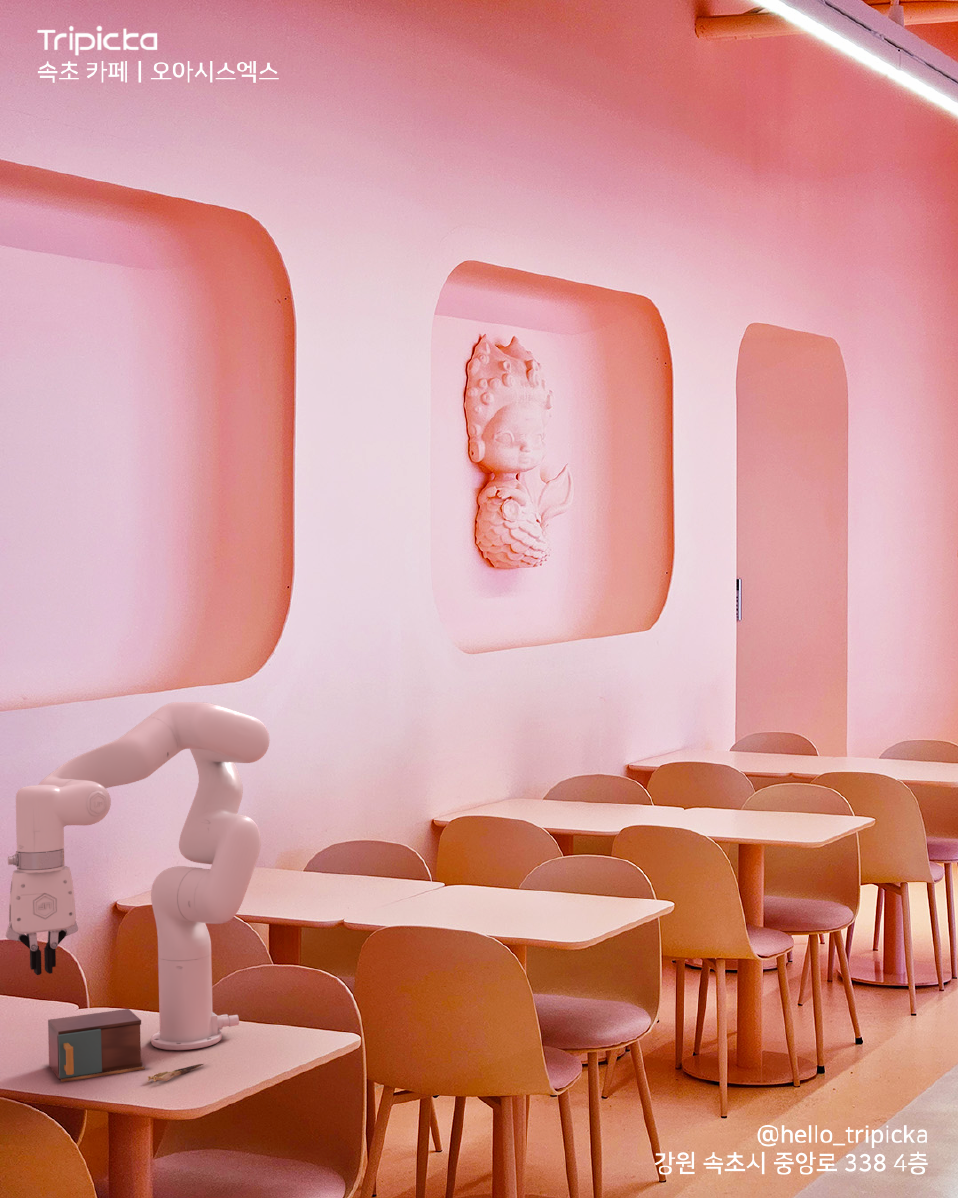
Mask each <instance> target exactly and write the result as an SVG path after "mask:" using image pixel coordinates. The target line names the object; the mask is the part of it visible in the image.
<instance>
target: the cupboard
mask: <svg viewBox="0 0 958 1198" xmlns="http://www.w3.org/2000/svg"><path fill="white" fill-rule="evenodd" d="M141 1025H142V1020H141V1018H139V1016H137V1015H136V1014H135V1013H134V1012H133V1011H132V1010H130V1009H129V1008H124V1009H116V1010H110V1011H109V1010H108V1011H104V1012H102V1011H101V1012H95V1013H86V1014H79V1015H72V1016H66V1017H59V1018H58V1017H57V1018H51V1019H48V1020H47V1029H48V1030H47V1032H48V1033H47V1035H48V1038H47V1039H48V1067H49V1068H50V1069H51V1071H52V1072H53V1073H54V1074H55V1075H56V1077H57V1078H58V1079H59V1080H60V1082H61V1083H64V1082H65V1083H66V1082H71V1081H77V1080H84V1079H90V1078H97V1077H102V1076H109V1075H116V1074H122V1073H129V1072H136V1071H141V1070H145V1068H146V1067H145V1066H143V1062H142V1049H141V1048H142V1047H141V1046H142V1045H141ZM96 1029H101V1053H102V1072H100V1073H93V1074H87V1075H80V1076H74V1077H67V1078H61V1079H60V1078H59V1043H58V1035H60V1034H67V1033H74V1032H82V1031H89V1030H96Z"/></svg>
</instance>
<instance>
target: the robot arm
mask: <svg viewBox="0 0 958 1198" xmlns="http://www.w3.org/2000/svg"><path fill="white" fill-rule="evenodd" d="M270 741H271V740H270V733H269V731H268V728H267V727H266V725H265V723H264V722H262V721H261V720H260V719H259V718H257V717H256V716H253V715H249V714H246V713H243V712H240V711H236V710H234V709H230V708H227V707H225V706H222V705H218V704H214V703H212V702H211V703H210V702H204V701H174V702H169V703H166V704H164V705H162V706H160V707H159V708H157V710H155V711H154V712H152V713H151V714H150V715H148V716H147V717H146V718H144V719H143V720H142V721H140V722H139V723H138V724H136V725H135V726H134V727H132V728H131V729H130V730H128V731H127V732H126V733H124V734H123V735H122V736H120V737H119V738H117V739H115V740H112V741H110V742H107V743H105V744H103V745H100V746H98V747H96V748H94V749H92V750H89V751H86V752H84V753H82V754H80V755H77V756H75V757H74V758H71V759H70V760H68V761H66V762H65V763H63V764H61V765H60V766H58V767H57V768H56V769H55V770H53V771H52V772H51V773H49V774H48V775H47V776H45V777H44V778H43V779H42V780H41V781H40V782H39V783H38V784H34V785H27V786H23V787H20V788H19V789H18V790H17V791H16V794H15V828H16V829H15V830H16V831H15V832H16V851H15V853H14V855H13V854H12V855H11V856H7V865H8V866H11V865H12V866H15V867H16V869H14V870H13V871H12V876H11V880H10V881H11V882H10V891H9V907H8V925H7V929H6V931H5V938H7V939H8V940H9V941H10V940H11V941H15V942H19V943H20V942H21V943H22V944H23V945H25V946H26V947H27V948H28V949H29V967H30V970H32V971H33V973H34V974H35V975H36V976H41V975H42V970H43V969H42V950H40V946H39V945H38V934H37V933H46V932H47V941H46V943H45V946H44V948H43V952H44V954H43V955H44V957H43V959H44V971H45V972H46V973H47V974H49V975H50V974H53V971H54V970H53V968H56V967H57V957H56V954H57V953H56V949H57V948H58V946H59V945H60V943H61V942H62V941H63V940H64V939H65V938H66V937H67V936H70V935H72V934H74V933H77V932H79V926H78V924H77V921H76V918H77V917H76V901H75V891H74V883H73V877H72V872H71V868H70V866H68V865H67V866H66V865H65V829H64V828H65V827H66V826H92V825H95V824H97V823H99V822H100V821H102V820H103V819H104V818H105V817H106V816H107V815H108V814H109V811H110V810H111V806H112V804H111V803H112V801H111V795H110V792H109V790H107V789H108V788H113V787H119V786H123V785H129V784H132V783H136V782H139V781H141V780H145V779H146V778H148V777H150V776H151V775H152V774H153V773H155V772H156V771H158V770H159V769H160V768H161V767H162V766H163V765H165V764H167V762H169V761H170V760H171V759H172V758H174V757H175V756H177V754H179V753H180V752H182V751H184V750H190V753H191V755H192V757H193V760H194V762H195V765H196V769H197V775H198V783H197V788H196V791H195V795H194V798H193V800H192V802H191V806H190V808H189V811H188V814H187V817H186V818H185V821H184V823H183V826H182V829H181V831H180V832H181V833H180V836H179V841H178V848H179V849H178V850H179V852H180V854H181V855H182V856H183V858H185V859H186V860H188V861H190V862H193V863H196V864H197V863H198V864H203V865H211V866H210V868H202V867H195V866H194V867H193V866H183V865H181V866H180V865H178V866H171V867H168V868H166V869H164V870H162V871H161V872H159V874H157V876H156V877H155V878H154V881H153V883H152V886H151V891H150V901H151V907H152V912H153V916H154V920H155V926H156V933H157V935H156V936H157V968H158V969H157V970H158V971H157V972H158V1005H159V1006H158V1009H159V1010H158V1011H159V1012H158V1015H159V1016H158V1017H159V1031H158V1032H155V1033H154V1034H153V1035H152V1036H151V1038H150V1041H151V1045H152V1046H153V1047H155V1048H156V1049H161V1050H167V1051H188V1050H197V1049H202V1048H207V1047H210V1046H213V1045H216V1044H217V1043H219V1042H220V1041H221V1040H222V1038H223V1032H222V1030H223V1028H226V1027H230V1028H231V1027H235V1026H239V1025H240V1019H239V1018H240V1017H239V1015H238V1014H233V1015H228V1014H227V1013H226V1014H219V1015H217V1014H216V1013H215V1012H214V1011H213V1009H214V1008H213V970H212V968H213V967H212V965H213V964H212V963H213V962H212V939H211V935H210V932H209V928H208V926H207V924H208V925H209V924H210V925H222V924H223V925H224V924H225V923H228V922H230V921H231V920H232V919H234V917H235V916H237V914H238V912H239V910H240V908H241V906H242V905H243V901H244V898H245V896H246V893H247V890H248V888H249V884H250V881H251V879H252V876H253V874H254V870H255V869H256V865H257V863H258V860H259V856H260V852H261V845H262V839H261V837H262V836H261V832H260V828H259V826H258V824H257V823H256V822H255V820H253V819H252V818H251V817H250V816H247V815H245V814H240V813H238V812H239V809H240V807H241V803H242V799H243V793H244V787H243V782H242V781H243V780H242V778H241V775H240V772H239V770H238V767H237V765H236V764H251V763H256V762H258V761H259V760H261V759H262V758H264V757H265V754H266V753H267V751H268V750H269V747H270Z"/></svg>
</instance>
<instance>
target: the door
mask: <svg viewBox="0 0 958 1198" xmlns="http://www.w3.org/2000/svg"><path fill="white" fill-rule="evenodd" d="M58 1043H59V1078H60V1079H59V1078H58V1079H59V1080H61V1078H65V1079H66V1078H67V1077H74V1076H78V1077H79V1076H80V1075H87V1074H91V1075H92V1074H93V1073H100V1072H102V1053H101V1029H96V1030H89V1031H82V1032H74V1033H67V1034H60V1035H58Z"/></svg>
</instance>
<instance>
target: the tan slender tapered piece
mask: <svg viewBox="0 0 958 1198" xmlns="http://www.w3.org/2000/svg"><path fill="white" fill-rule="evenodd" d="M203 1065H205V1063H199V1064H194V1065H190V1066H185V1067H182V1068H178V1069H174V1070H172V1071H163V1072H158V1073H156V1074H153V1075H148V1076H147V1078H148V1079H147V1081H148V1082H150V1081H151V1080H152V1081H153V1082H154V1083H156V1081H165V1082H167V1081H169V1080H171V1079H173V1078H175V1077H176V1076H177V1077H178V1076H179V1075H184V1074H186V1073H188V1072H191V1071H193V1070H195V1069H197V1068H199V1067H201V1066H203Z"/></svg>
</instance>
